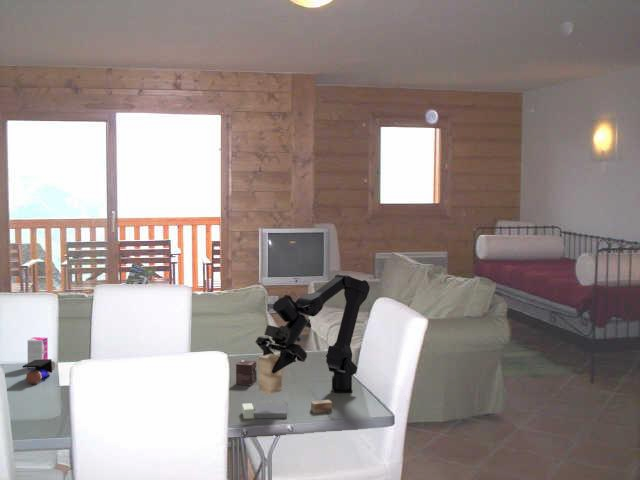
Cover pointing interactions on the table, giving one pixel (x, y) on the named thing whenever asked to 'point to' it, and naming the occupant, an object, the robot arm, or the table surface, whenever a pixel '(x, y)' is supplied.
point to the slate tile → (270, 410)
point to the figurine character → (39, 370)
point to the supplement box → (37, 349)
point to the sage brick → (248, 411)
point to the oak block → (269, 374)
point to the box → (246, 372)
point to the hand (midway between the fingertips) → (266, 371)
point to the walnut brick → (321, 406)
